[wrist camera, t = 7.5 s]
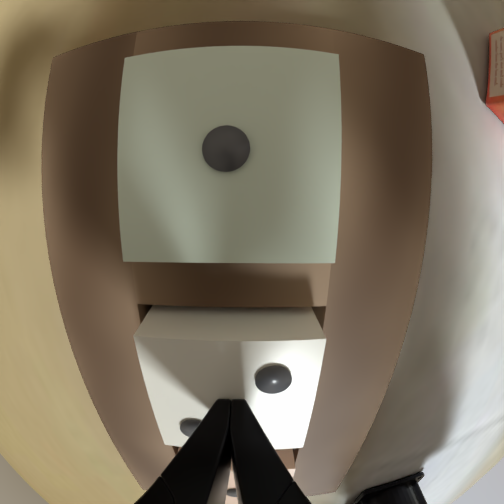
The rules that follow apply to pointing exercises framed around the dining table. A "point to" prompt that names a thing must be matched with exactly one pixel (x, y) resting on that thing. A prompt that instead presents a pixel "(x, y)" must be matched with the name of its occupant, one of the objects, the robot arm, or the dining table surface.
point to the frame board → (243, 274)
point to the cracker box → (496, 74)
